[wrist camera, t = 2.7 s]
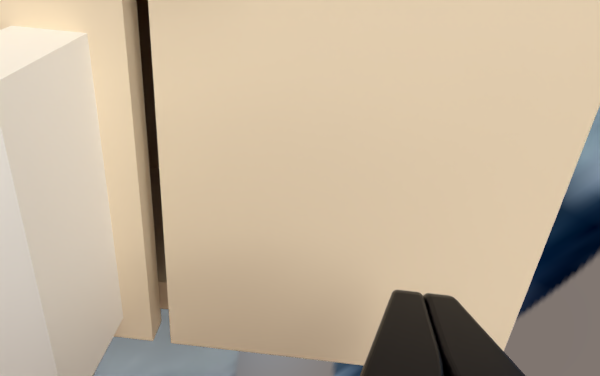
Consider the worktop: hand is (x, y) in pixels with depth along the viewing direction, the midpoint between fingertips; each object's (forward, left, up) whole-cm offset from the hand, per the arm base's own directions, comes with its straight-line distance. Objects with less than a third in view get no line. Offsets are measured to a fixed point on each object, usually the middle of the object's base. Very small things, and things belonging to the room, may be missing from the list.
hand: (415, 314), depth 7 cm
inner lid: (+1, -4, -3) cm, 5 cm away
